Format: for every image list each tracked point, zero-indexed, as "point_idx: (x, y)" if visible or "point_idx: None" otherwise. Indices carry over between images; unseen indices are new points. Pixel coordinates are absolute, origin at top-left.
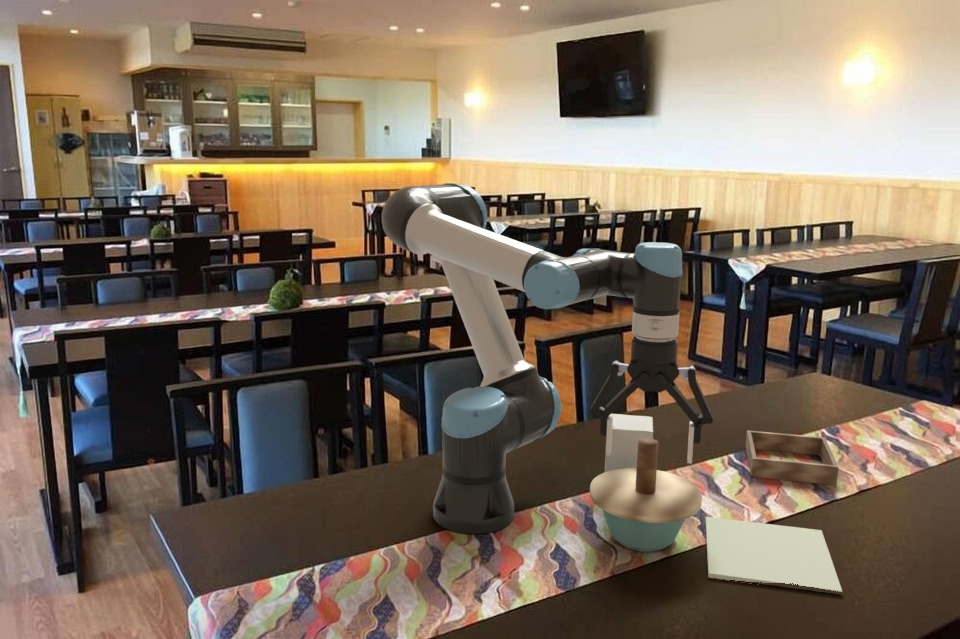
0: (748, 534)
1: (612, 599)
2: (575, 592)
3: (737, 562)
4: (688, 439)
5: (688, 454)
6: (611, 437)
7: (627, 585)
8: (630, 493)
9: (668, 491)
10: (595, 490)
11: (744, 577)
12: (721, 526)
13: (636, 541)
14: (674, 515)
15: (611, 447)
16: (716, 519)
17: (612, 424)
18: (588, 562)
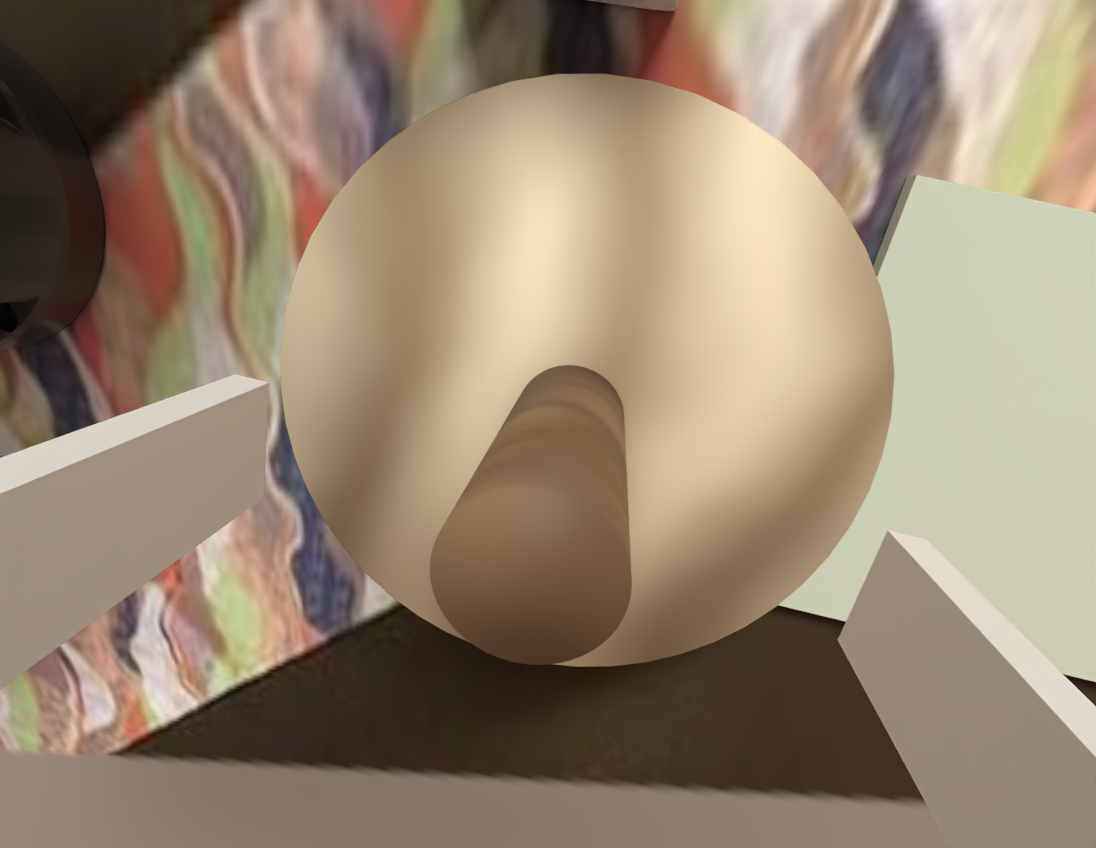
0: (1039, 341)
1: (449, 674)
2: (355, 644)
3: (881, 542)
4: (971, 701)
5: (873, 697)
6: (167, 503)
7: None
8: (484, 455)
9: (697, 428)
10: (309, 423)
11: None
12: (949, 273)
13: None
14: (658, 656)
15: (248, 413)
16: (957, 202)
17: (53, 495)
18: None
